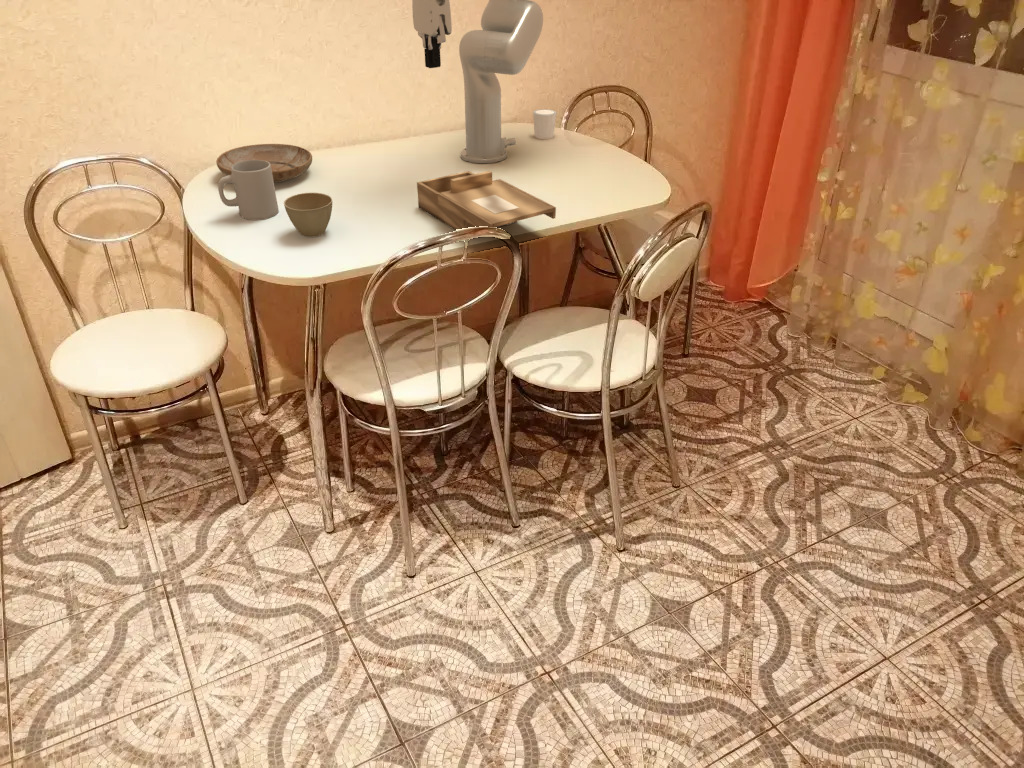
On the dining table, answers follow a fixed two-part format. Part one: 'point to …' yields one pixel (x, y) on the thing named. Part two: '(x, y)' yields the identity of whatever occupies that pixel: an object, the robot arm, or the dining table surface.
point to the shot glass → (544, 123)
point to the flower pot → (309, 212)
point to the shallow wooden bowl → (269, 159)
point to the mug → (251, 189)
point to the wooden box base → (430, 200)
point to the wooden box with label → (491, 201)
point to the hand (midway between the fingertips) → (433, 66)
